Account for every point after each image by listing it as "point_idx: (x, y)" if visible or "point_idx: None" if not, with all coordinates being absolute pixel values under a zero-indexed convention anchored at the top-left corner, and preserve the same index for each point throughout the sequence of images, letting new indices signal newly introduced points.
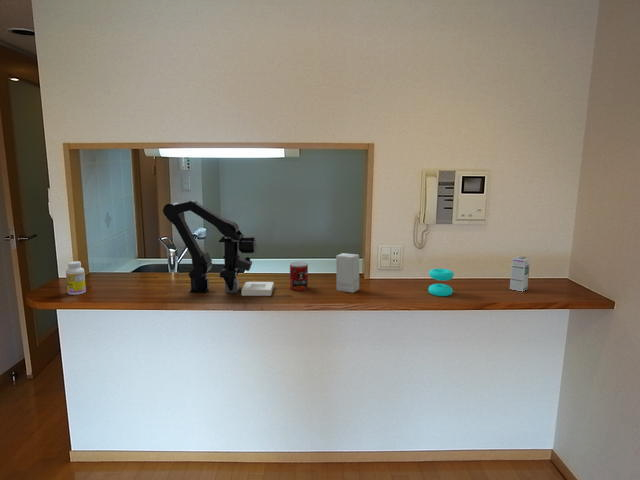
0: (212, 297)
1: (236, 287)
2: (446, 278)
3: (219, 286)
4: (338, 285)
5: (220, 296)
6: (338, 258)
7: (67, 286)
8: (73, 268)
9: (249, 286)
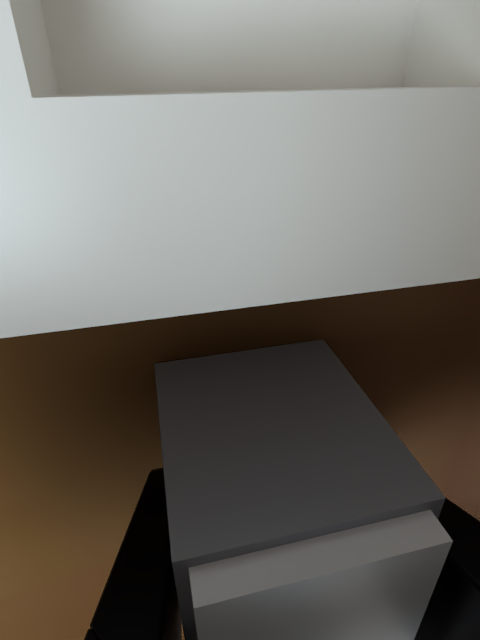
0: (472, 511)
1: (370, 409)
2: None
3: (21, 634)
4: None
5: (458, 465)
6: None
7: None
8: None
9: (382, 108)
